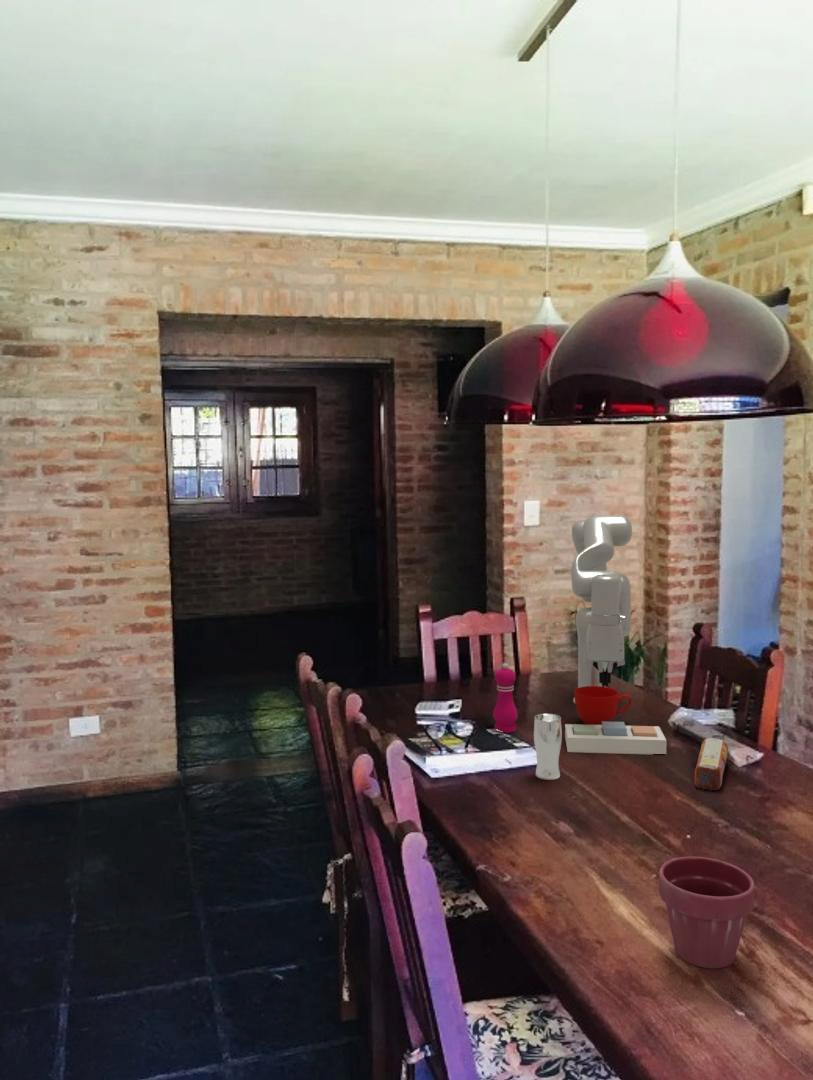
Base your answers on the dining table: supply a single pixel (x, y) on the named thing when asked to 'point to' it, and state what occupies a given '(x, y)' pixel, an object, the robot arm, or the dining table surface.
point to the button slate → (614, 728)
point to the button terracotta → (643, 731)
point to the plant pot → (706, 908)
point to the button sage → (584, 730)
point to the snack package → (711, 764)
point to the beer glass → (547, 745)
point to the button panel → (615, 742)
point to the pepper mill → (505, 701)
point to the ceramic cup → (598, 704)
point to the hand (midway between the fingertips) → (604, 685)
